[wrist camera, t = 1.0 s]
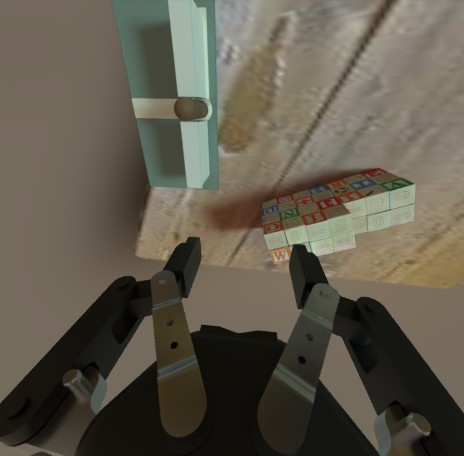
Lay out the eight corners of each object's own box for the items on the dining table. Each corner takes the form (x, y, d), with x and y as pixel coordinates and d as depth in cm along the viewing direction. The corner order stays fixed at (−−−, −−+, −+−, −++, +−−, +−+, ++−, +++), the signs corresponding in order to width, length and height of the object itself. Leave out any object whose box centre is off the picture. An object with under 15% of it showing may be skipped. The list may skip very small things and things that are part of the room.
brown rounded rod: (193, 100, 32) (169, 96, 23) (209, 100, 31) (191, 96, 22) (194, 118, 33) (172, 121, 24) (210, 118, 33) (193, 122, 24)
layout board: (110, -11, 26) (108, -13, 26) (214, -14, 25) (213, -16, 24) (151, 185, 40) (149, 186, 40) (218, 188, 39) (218, 189, 39)
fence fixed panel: (187, 17, 26) (166, -12, 20) (204, 17, 26) (188, -12, 20) (193, 99, 31) (178, 96, 25) (207, 99, 31) (195, 96, 25)
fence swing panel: (194, 119, 32) (180, 121, 26) (208, 119, 32) (197, 122, 26) (198, 174, 37) (187, 187, 31) (210, 175, 37) (201, 188, 31)
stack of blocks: (379, 166, 34) (435, 191, 24) (380, 198, 37) (429, 233, 26) (260, 202, 40) (262, 235, 29) (269, 227, 43) (273, 266, 32)
